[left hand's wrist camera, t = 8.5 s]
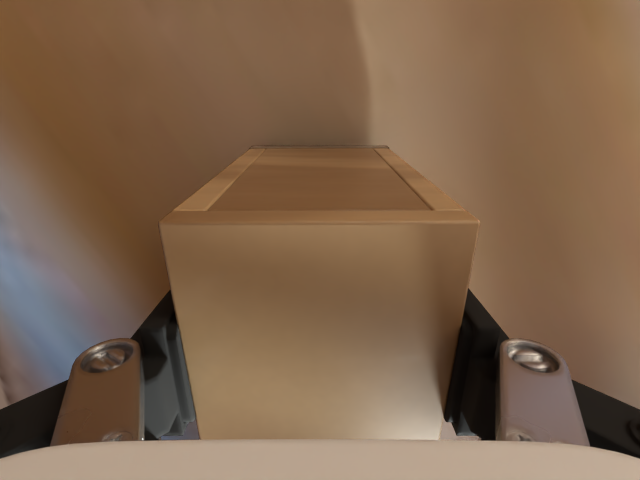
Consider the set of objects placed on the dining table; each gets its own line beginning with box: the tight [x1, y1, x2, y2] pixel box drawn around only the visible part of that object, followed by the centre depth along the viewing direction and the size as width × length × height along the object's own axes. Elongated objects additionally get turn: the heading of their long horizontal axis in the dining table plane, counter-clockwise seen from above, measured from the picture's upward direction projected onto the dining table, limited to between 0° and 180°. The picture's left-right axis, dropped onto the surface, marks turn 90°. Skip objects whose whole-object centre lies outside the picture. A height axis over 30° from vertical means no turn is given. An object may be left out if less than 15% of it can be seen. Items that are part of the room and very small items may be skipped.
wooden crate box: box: [158, 146, 480, 440], centre depth 16 cm, size 20×6×11 cm, turn 0°
